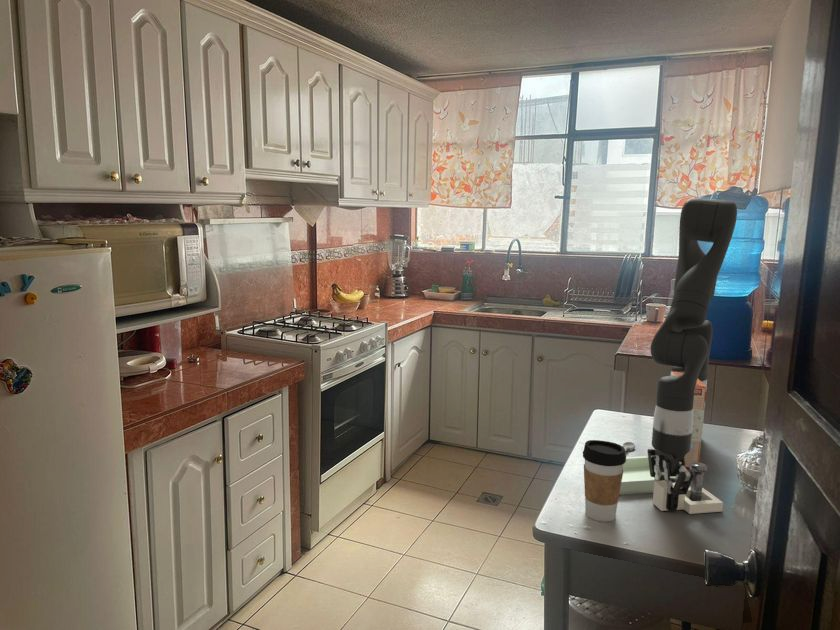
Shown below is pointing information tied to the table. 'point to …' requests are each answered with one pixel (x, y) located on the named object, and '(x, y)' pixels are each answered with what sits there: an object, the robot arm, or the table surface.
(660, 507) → the cream stepped holder
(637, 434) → the table surface
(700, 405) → the cracker box
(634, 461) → the tray
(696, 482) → the grey bolt
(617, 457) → the coffee cup
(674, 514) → the table surface
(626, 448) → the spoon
